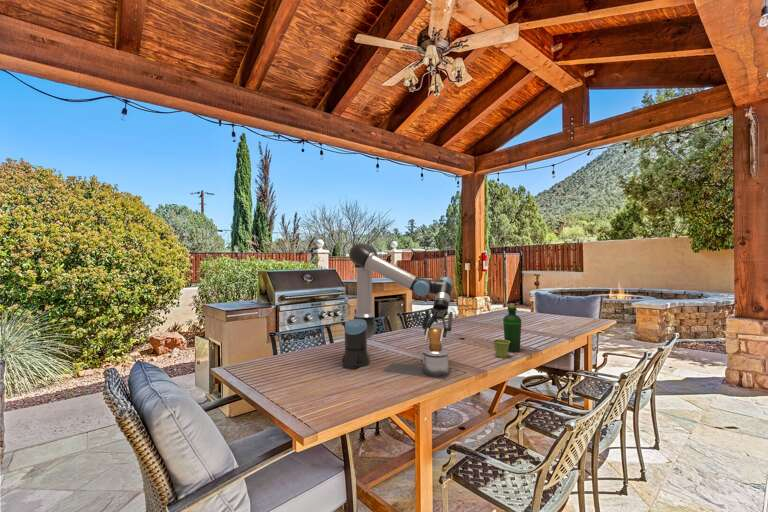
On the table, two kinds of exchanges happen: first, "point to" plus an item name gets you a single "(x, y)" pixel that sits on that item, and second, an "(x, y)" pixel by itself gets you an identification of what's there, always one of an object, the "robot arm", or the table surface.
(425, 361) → the cylinder
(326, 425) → the table surface
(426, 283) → the robot arm
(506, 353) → the plant pot
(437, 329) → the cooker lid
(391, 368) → the stove mat
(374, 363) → the table surface
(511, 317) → the bottle
